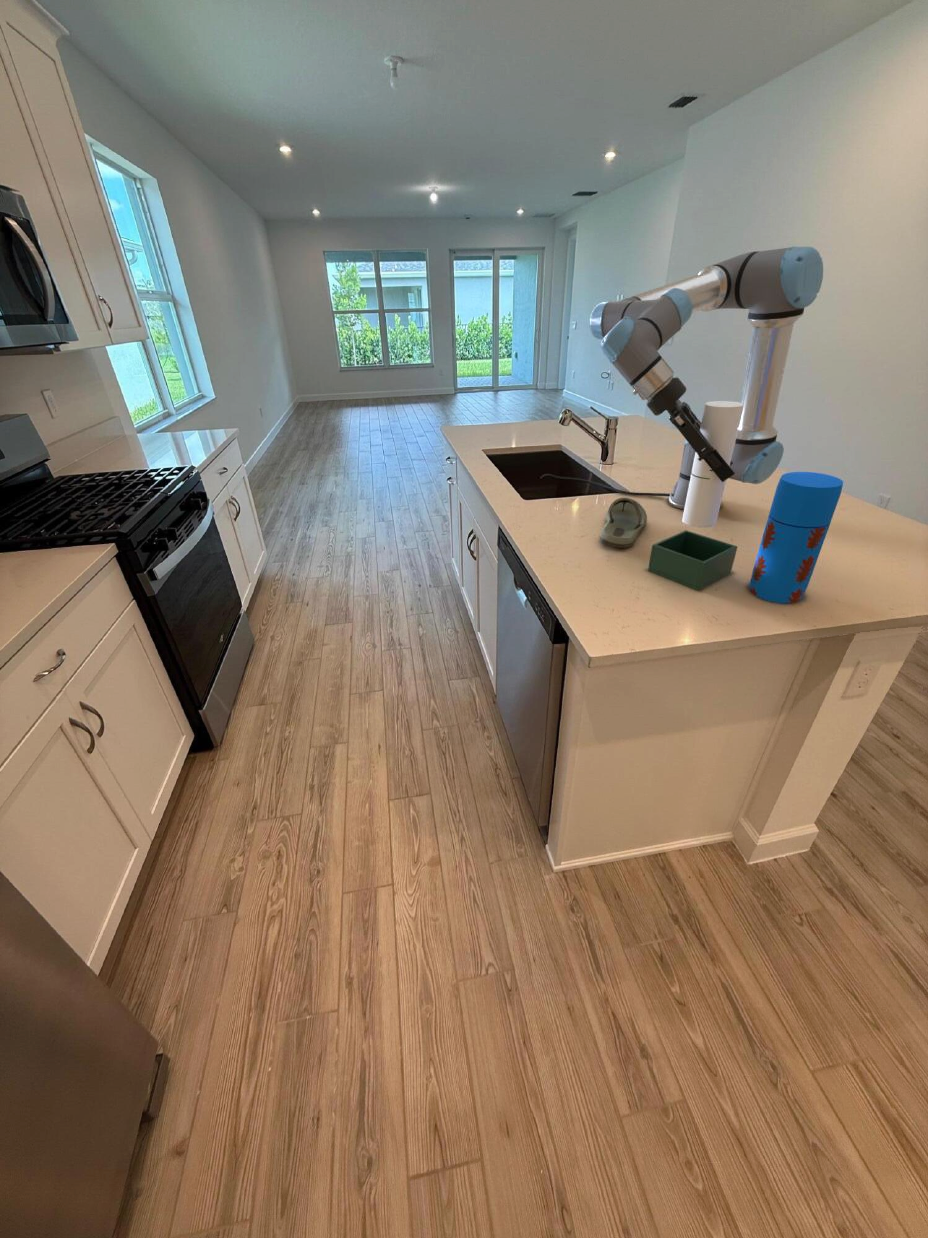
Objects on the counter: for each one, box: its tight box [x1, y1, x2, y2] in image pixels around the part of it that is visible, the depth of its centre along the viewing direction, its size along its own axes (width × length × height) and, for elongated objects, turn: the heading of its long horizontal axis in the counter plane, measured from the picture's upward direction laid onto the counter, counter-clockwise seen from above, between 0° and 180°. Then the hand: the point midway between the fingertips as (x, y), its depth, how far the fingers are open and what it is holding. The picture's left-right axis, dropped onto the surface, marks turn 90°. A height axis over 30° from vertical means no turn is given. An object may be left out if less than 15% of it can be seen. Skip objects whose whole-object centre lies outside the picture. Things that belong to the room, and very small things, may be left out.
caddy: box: [647, 529, 739, 591], centre depth 120 cm, size 13×13×7 cm
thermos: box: [748, 471, 844, 604], centre depth 105 cm, size 11×11×25 cm
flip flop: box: [598, 497, 648, 549], centre depth 142 cm, size 29×12×8 cm, turn 155°
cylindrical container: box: [681, 400, 744, 529], centre depth 108 cm, size 7×7×25 cm
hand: (727, 472), depth 108 cm, fingers closed on cylindrical container, 7 cm apart
